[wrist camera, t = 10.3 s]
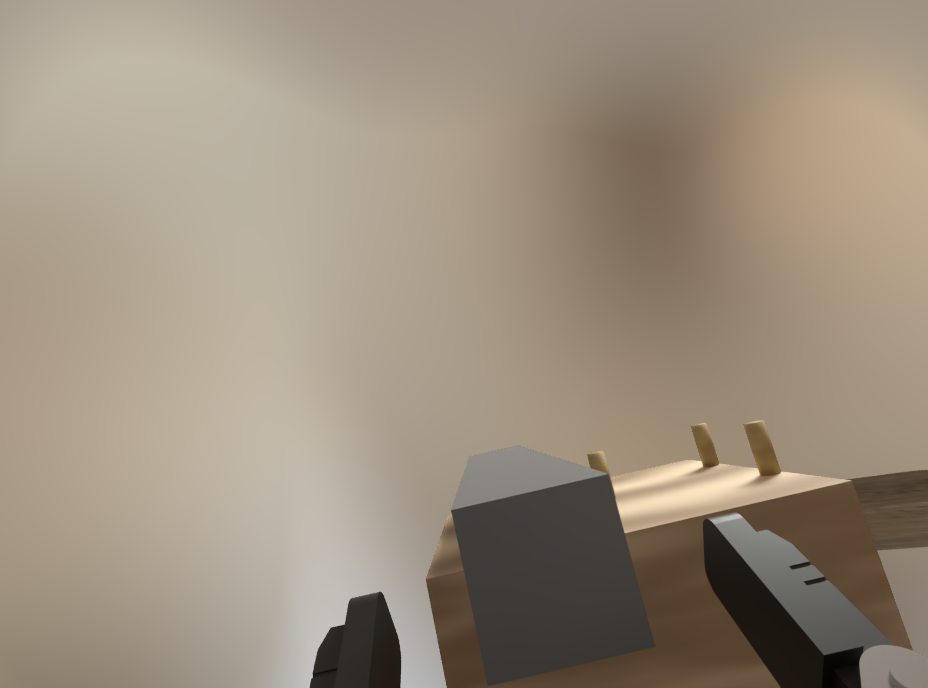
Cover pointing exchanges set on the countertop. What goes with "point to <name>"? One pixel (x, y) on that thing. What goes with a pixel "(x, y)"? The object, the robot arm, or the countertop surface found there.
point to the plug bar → (545, 565)
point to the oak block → (690, 571)
